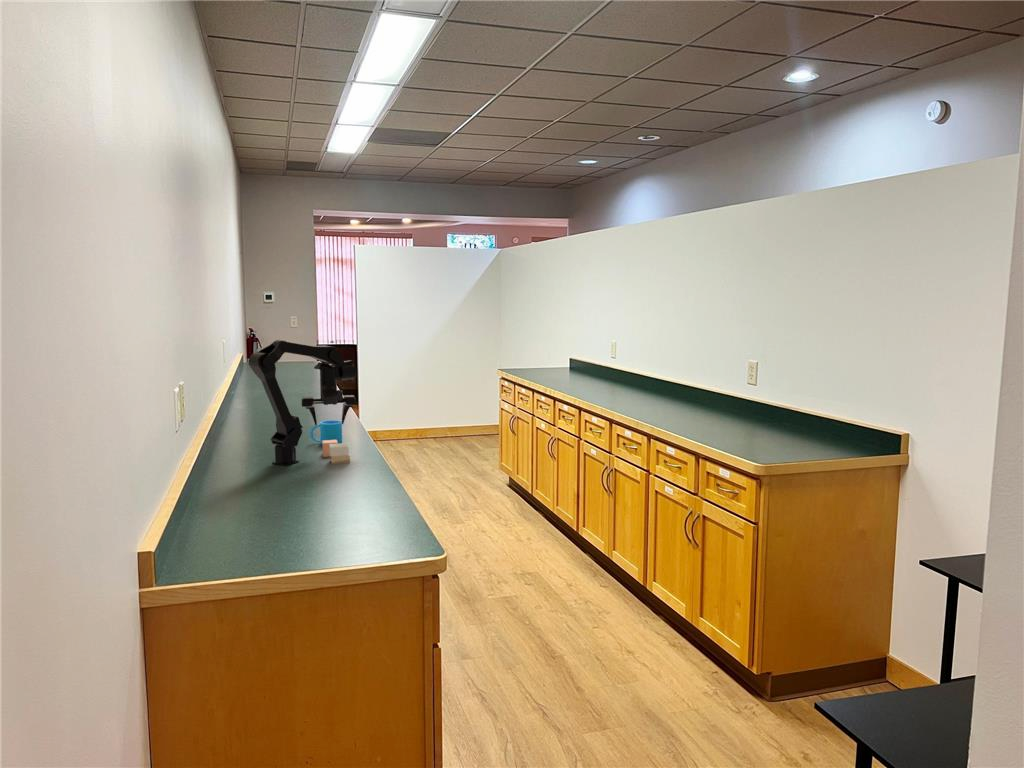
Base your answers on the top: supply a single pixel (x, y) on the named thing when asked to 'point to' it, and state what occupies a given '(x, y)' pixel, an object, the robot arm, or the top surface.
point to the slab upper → (338, 449)
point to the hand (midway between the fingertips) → (329, 424)
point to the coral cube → (327, 446)
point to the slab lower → (340, 459)
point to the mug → (329, 431)
